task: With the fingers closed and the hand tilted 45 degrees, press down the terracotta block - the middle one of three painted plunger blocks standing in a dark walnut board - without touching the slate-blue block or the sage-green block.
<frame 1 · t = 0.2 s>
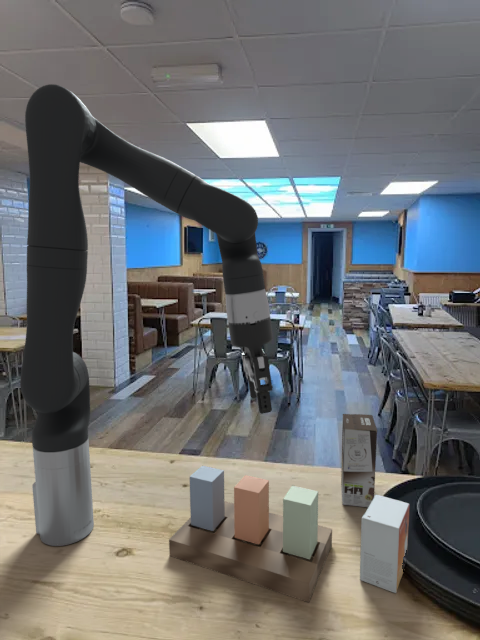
hand: (260, 404, 79), 23 cm above the counter, tool pointing down, fingers open, 8 cm apart
sage block: (300, 521, 70), point 8 cm above the counter, slide at 0.0 cm
coffee box: (356, 495, 91), on the counter
slate block: (207, 497, 77), point 8 cm above the counter, slide at 0.0 cm
small box: (383, 572, 69), on the counter
terracotta block: (251, 508, 73), point 8 cm above the counter, slide at 0.0 cm
walnut board: (252, 550, 74), on the counter
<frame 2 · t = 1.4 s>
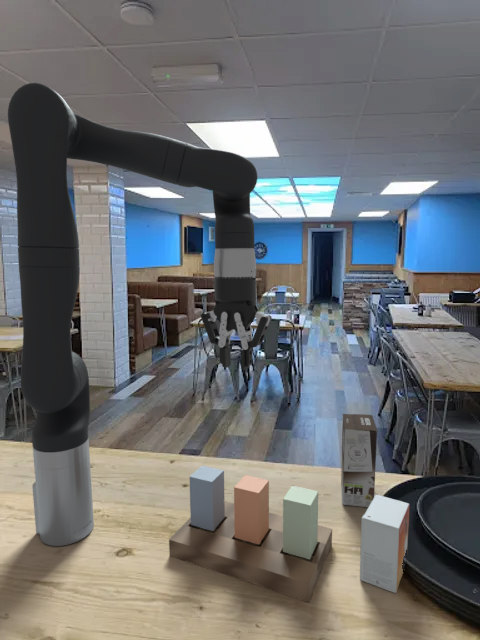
hand: (236, 367, 81), 29 cm above the counter, tool pointing down, fingers open, 3 cm apart
nothing on the counter moved.
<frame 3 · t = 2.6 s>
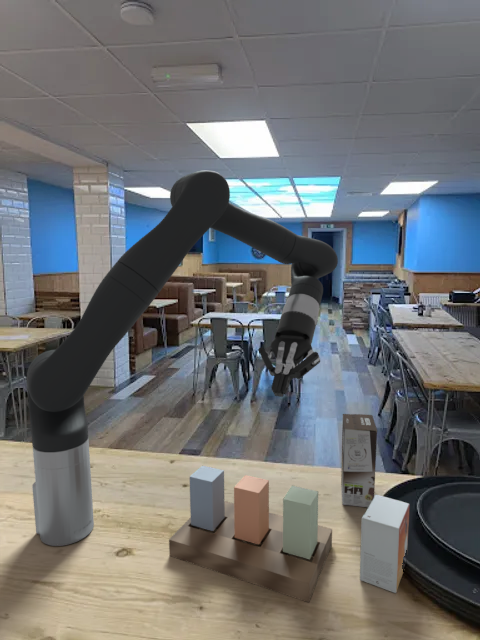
hand: (277, 394, 82), 24 cm above the counter, tool tilted 45°, fingers closed
nothing on the counter moved.
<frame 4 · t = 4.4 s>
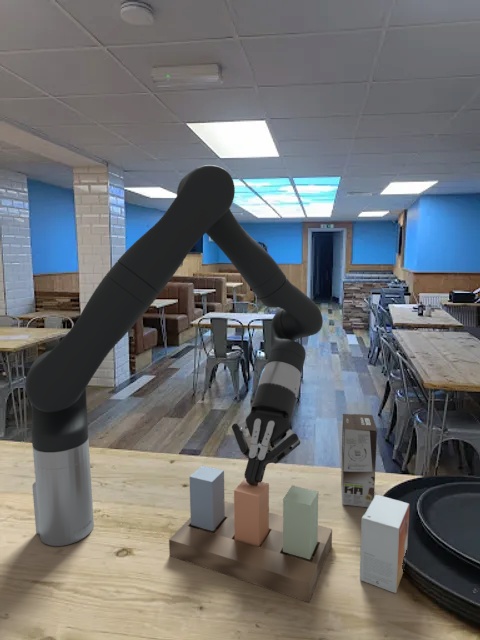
hand: (251, 483, 73), 12 cm above the counter, tool tilted 45°, fingers closed
terracotta block: (251, 511, 73), point 7 cm above the counter, slide at 0.6 cm, touching gripper
everything else where it was.
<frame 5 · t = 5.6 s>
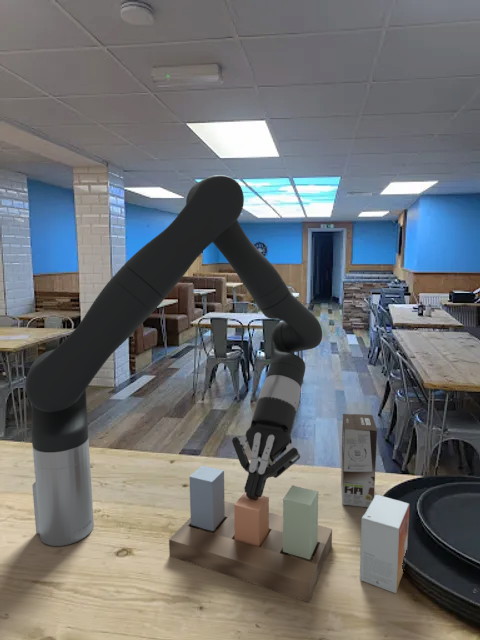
hand: (251, 498, 73), 10 cm above the counter, tool tilted 45°, fingers closed
terracotta block: (251, 525, 74), point 4 cm above the counter, slide at 3.1 cm, touching gripper
everything else where it was.
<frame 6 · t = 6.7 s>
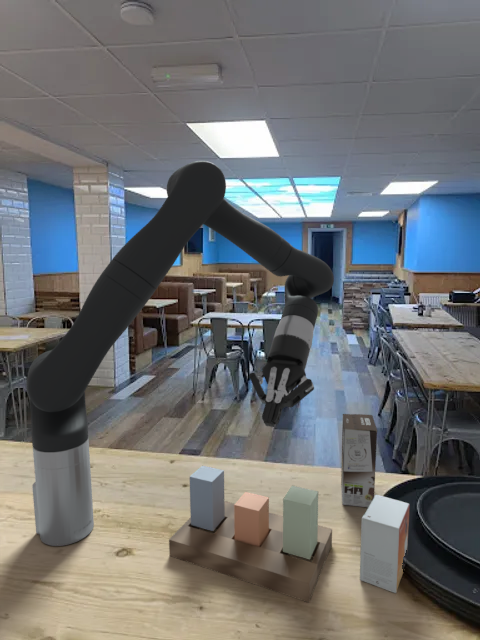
hand: (268, 424, 77), 20 cm above the counter, tool tilted 45°, fingers closed
terracotta block: (251, 525, 74), point 4 cm above the counter, slide at 3.1 cm
everything else where it was.
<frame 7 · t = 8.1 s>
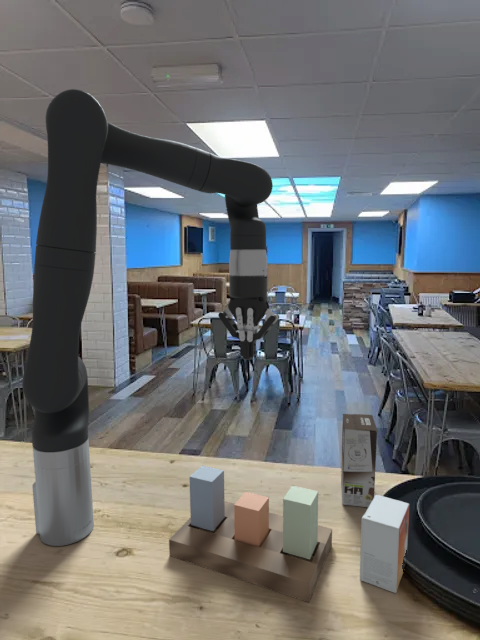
hand: (248, 358, 89), 29 cm above the counter, tool pointing down, fingers closed
nothing on the counter moved.
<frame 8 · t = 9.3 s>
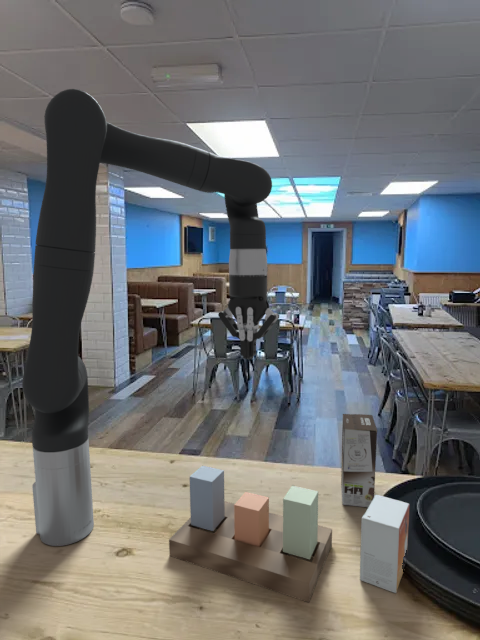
hand: (248, 358, 89), 29 cm above the counter, tool pointing down, fingers closed
nothing on the counter moved.
at the end: terracotta block slide at 3.1 cm; slate block slide at 0.0 cm; sage block slide at 0.0 cm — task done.
